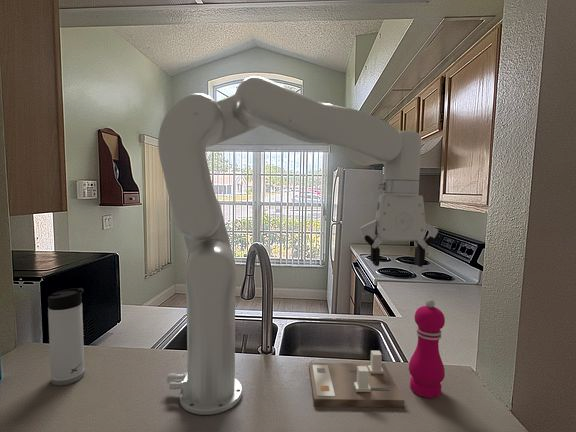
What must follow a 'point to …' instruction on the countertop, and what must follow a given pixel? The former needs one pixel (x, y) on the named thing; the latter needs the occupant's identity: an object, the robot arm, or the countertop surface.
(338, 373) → the switch board
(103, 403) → the countertop surface
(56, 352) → the travel mug
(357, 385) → the tab
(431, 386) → the pepper mill
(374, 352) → the tab
